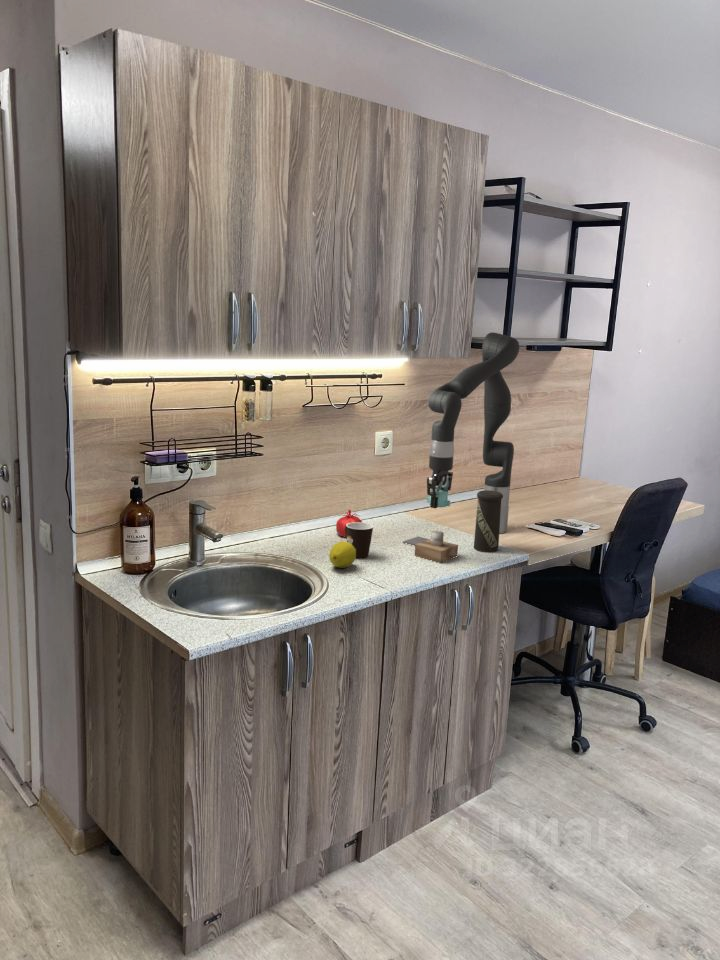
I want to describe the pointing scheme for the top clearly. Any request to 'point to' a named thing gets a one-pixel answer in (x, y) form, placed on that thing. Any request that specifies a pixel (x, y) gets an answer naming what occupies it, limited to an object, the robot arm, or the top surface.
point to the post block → (436, 548)
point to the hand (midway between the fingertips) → (438, 505)
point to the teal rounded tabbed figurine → (441, 499)
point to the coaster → (415, 540)
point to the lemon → (342, 554)
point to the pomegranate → (344, 521)
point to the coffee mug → (359, 537)
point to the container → (488, 521)
